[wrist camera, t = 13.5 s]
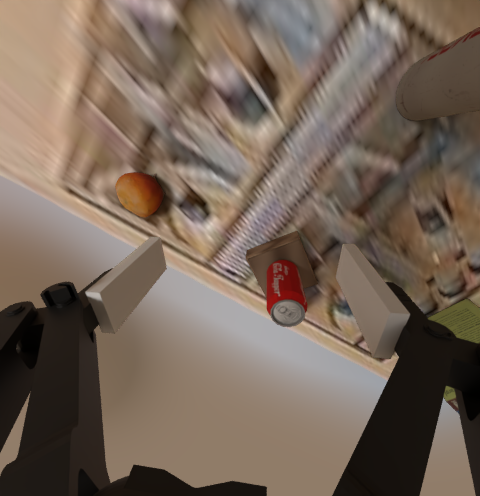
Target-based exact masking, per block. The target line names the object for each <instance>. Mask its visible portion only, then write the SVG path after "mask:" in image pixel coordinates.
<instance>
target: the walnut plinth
mask: <svg viewBox="0 0 480 496" xmlns="http://www.w3.org/2000/svg"><path fill="white" fill-rule="evenodd" d="M246 260H247V262H248V263H249V265H250V267H251V269H252V271H253V273H254V275H255V277H256V279H257V281H258V283H259V285H260V286H261V288H262V290H263V292H264V294H265V296H266V298H267V269H268V267H269V266H270V265H271V264H272V263H273V262H276V261H279V260H287V261H290V262H293V263H294V264H295V265H296V266H297V268H298V271H299V274H300V278H301V282H302V286H303V289H304V288H307V287H310V286H313V285H317V284H318V283H317V280H316V277H315V275H314V272H313V270H312V267H311V265H310V262H309V260H308V257H307V255H306V252H305V250H304V247H303V245H302V242H301V240H300V237H299V235H298V232H297V231H295V232H293V233H290V234H287V235H285V236H282V237H280V238H277V239H275V240H272V241H269V242H267V243H264V244H262V245H259V246H257V247H254V248H252V249H249V250H247V254H246Z"/></svg>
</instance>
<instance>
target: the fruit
mask: <svg viewBox="0 0 480 496" xmlns="http://www.w3.org/2000/svg"><path fill="white" fill-rule="evenodd" d="M155 175H156V174H155ZM155 175H154V176H153V177H152V176H150V175H147V174H144V173H137V172H134V173H127V174H124V175H122V176H121V177H120V178H119V179H118V181H117V183H116V186H115V187H116V190H117V196H118V198H119V200H120V202H121V203H122V205H123V206H124V207H125V208H126V209H128V210H129V211H131V212H133V213H134V214H136V215H138V216H140V217H147V216H149V215H151V214H153V213H154V212H155V211H156V210H157V209H158V208H159V206H160V205H161V203H162V200H163V197H164V194H165V192H163V190H162V188H161V187H160V185H159V184H158V182H157V181H156V178H155Z"/></svg>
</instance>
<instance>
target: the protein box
mask: <svg viewBox="0 0 480 496" xmlns="http://www.w3.org/2000/svg"><path fill="white" fill-rule="evenodd" d="M428 319H429V320H432V321H435V322H438V323H440V324H442V325H444V326H446V327H447V328H448V329H450V330H451V331H452V332H453V333H454V334H455V336H456V337H457V338H461V339H464V340H468V341H471V342H475V343H480V308H479V307H478V306H476V305H475V304H474V303H473V302H472V301H470V300H469V299H465V300H463V301H461V302H459V303H457V304H455V305H453V306H451V307H449V308H447V309H445V310H443V311H441V312H439V313H437V314H435V315H432V316H430V317H428ZM444 399H445V400H446V402H447V403H448V404H449V405H450V406H451V407H452V408H453V409H455V411H457V412H458V413H459V409H458V404H457V400H456V395H455V390H454V388H451V387H448V386H446V388H445V392H444Z"/></svg>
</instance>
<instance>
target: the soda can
mask: <svg viewBox="0 0 480 496" xmlns="http://www.w3.org/2000/svg"><path fill="white" fill-rule="evenodd" d="M267 311H268V313H269V315H270V316H271V318H272V320H273V321H274V322H275V323H276V324H278V325H280V326H283V327H292V326H296V325H298V324H299V323H301V322H302V321H303V319H304V318H305V313H306V311H307V301H306V297H305V293H304V290H303V286H302V282H301V278H300V274H299V271H298V268H297V266H296V265H295V264H294V263H293V262H290V261H287V260H279V261H276V262H273V263H272V264H271V265H270V266H269V267H268V269H267Z"/></svg>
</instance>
